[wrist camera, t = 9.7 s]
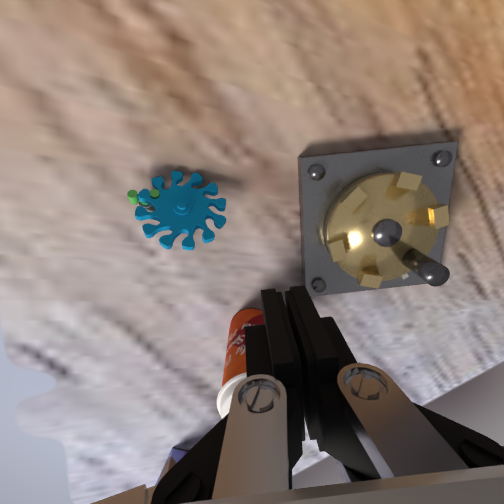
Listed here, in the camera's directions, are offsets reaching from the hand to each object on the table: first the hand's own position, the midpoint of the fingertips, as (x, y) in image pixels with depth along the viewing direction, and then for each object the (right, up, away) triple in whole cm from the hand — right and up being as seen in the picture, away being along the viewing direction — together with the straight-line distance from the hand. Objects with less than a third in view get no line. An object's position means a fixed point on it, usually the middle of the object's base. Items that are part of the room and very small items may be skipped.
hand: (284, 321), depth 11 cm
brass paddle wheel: (+14, +6, +25) cm, 29 cm away
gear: (-10, +9, +25) cm, 29 cm away
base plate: (+14, +7, +27) cm, 31 cm away
